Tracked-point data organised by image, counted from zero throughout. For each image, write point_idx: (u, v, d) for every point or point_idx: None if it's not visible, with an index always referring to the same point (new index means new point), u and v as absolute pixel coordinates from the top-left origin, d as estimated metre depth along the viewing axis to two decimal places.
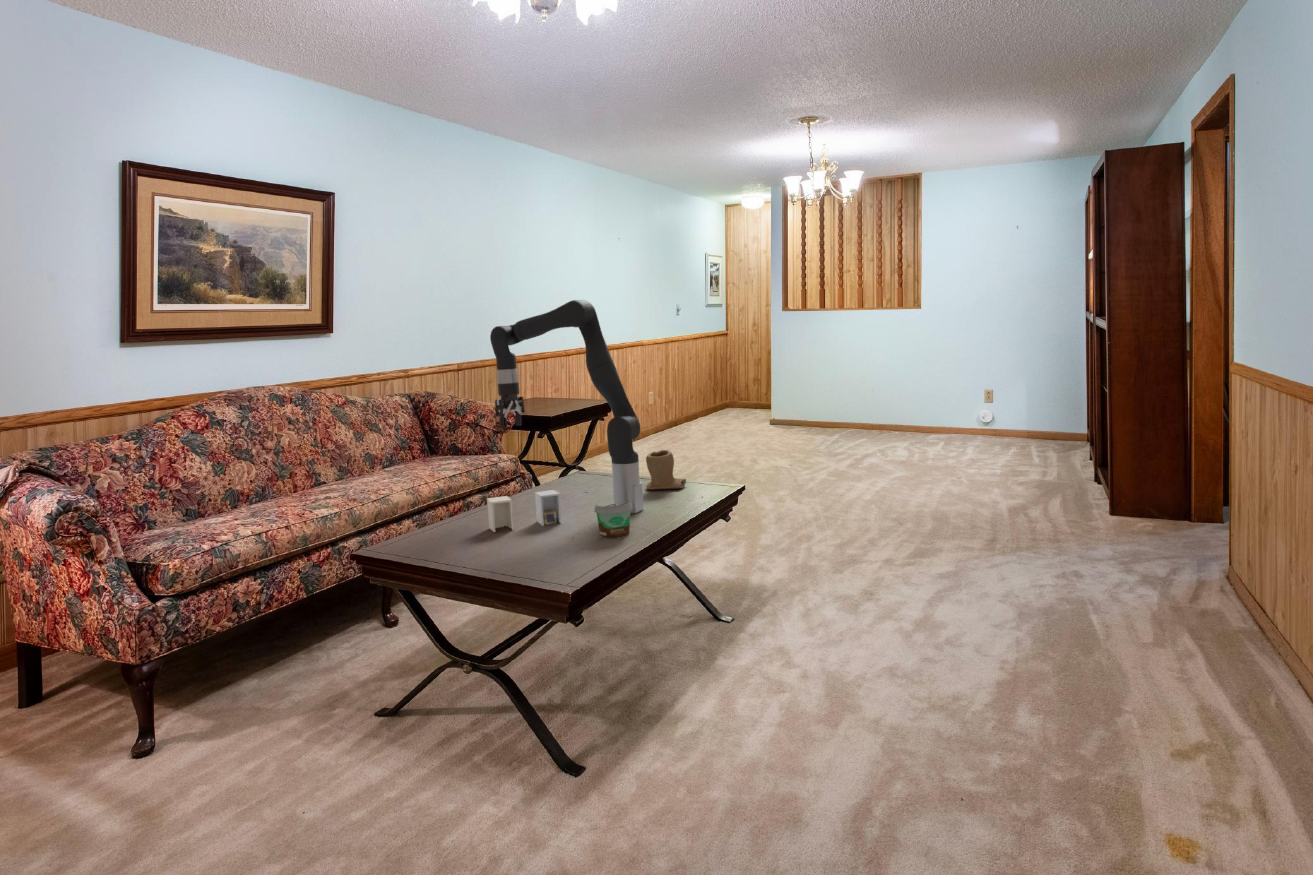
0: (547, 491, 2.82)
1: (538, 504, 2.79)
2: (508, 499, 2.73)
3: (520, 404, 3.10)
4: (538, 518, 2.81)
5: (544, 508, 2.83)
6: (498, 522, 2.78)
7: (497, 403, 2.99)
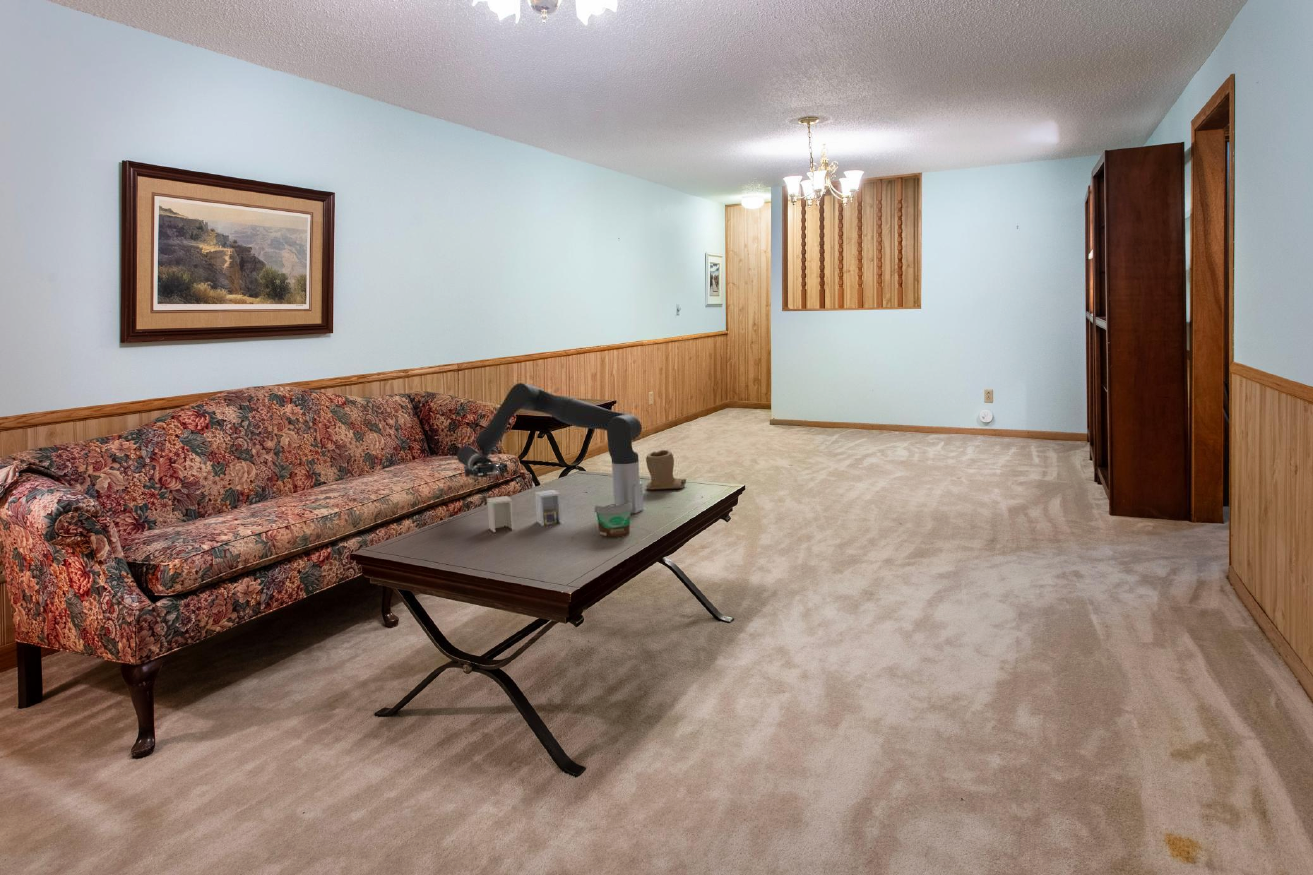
0: (547, 491, 2.82)
1: (538, 504, 2.79)
2: (508, 499, 2.73)
3: None
4: (538, 518, 2.81)
5: (544, 508, 2.83)
6: (498, 522, 2.78)
7: (464, 471, 2.89)
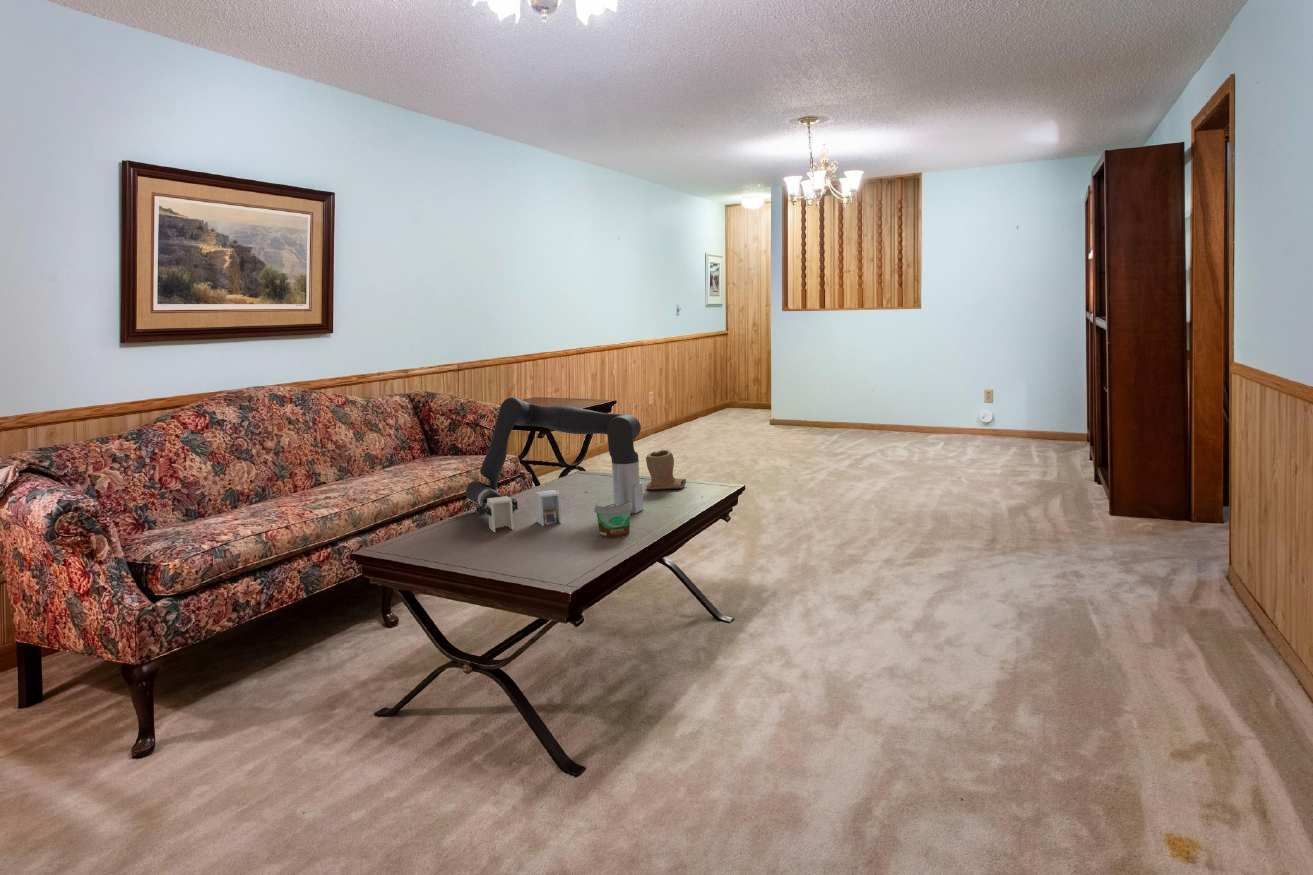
0: (547, 491, 2.82)
1: (538, 504, 2.79)
2: (508, 499, 2.73)
3: (512, 502, 2.81)
4: (538, 518, 2.81)
5: (544, 508, 2.83)
6: (498, 522, 2.78)
7: (475, 509, 2.78)
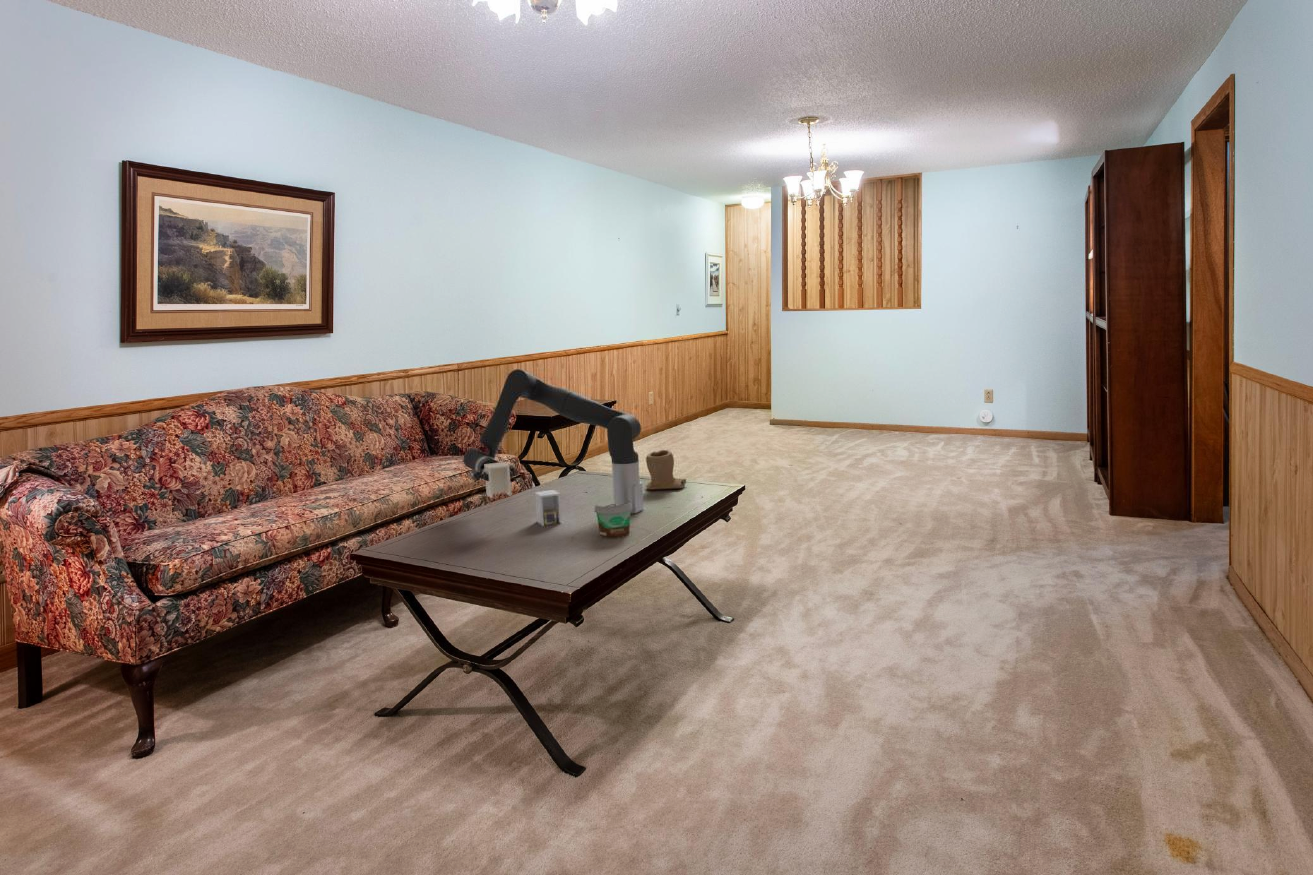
0: (547, 491, 2.82)
1: (538, 504, 2.79)
2: (505, 464, 2.71)
3: (510, 469, 2.80)
4: (538, 518, 2.81)
5: (544, 508, 2.83)
6: (495, 488, 2.76)
7: (472, 475, 2.76)
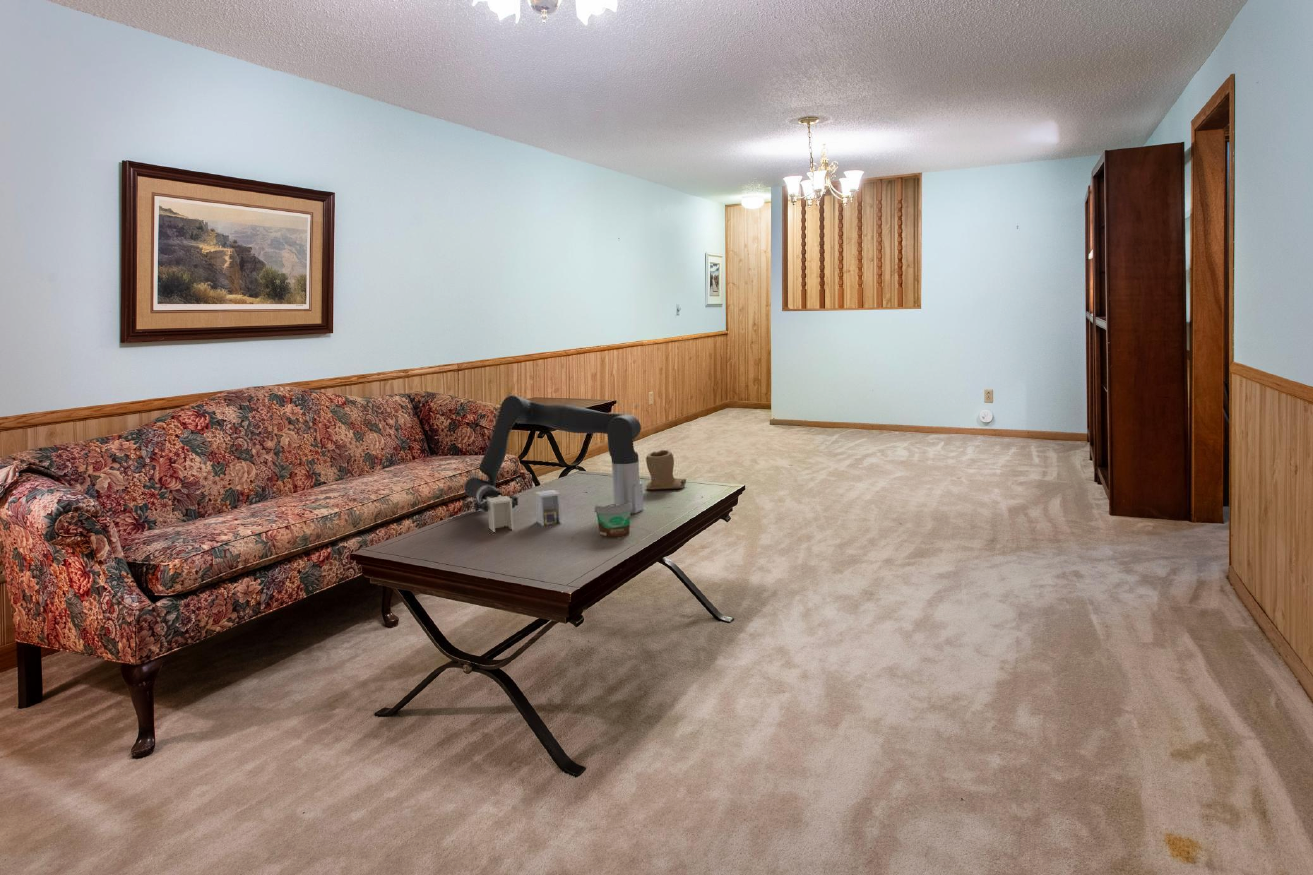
0: (547, 491, 2.82)
1: (538, 504, 2.79)
2: (508, 499, 2.73)
3: (512, 498, 2.83)
4: (538, 518, 2.81)
5: (544, 508, 2.83)
6: (498, 522, 2.78)
7: (473, 505, 2.80)
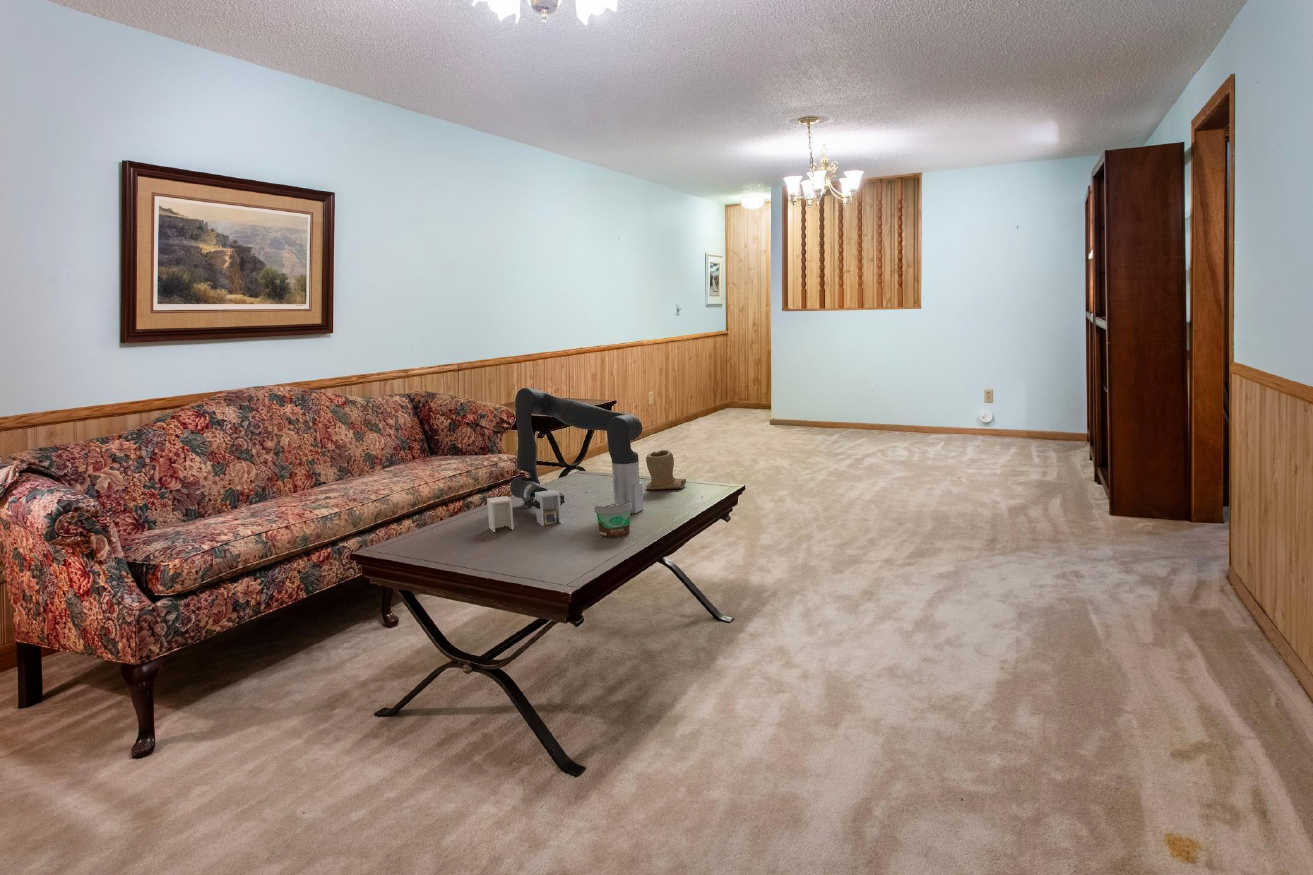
0: (547, 491, 2.82)
1: None
2: (508, 499, 2.73)
3: None
4: (538, 518, 2.81)
5: (544, 508, 2.83)
6: (498, 522, 2.78)
7: (523, 502, 2.84)
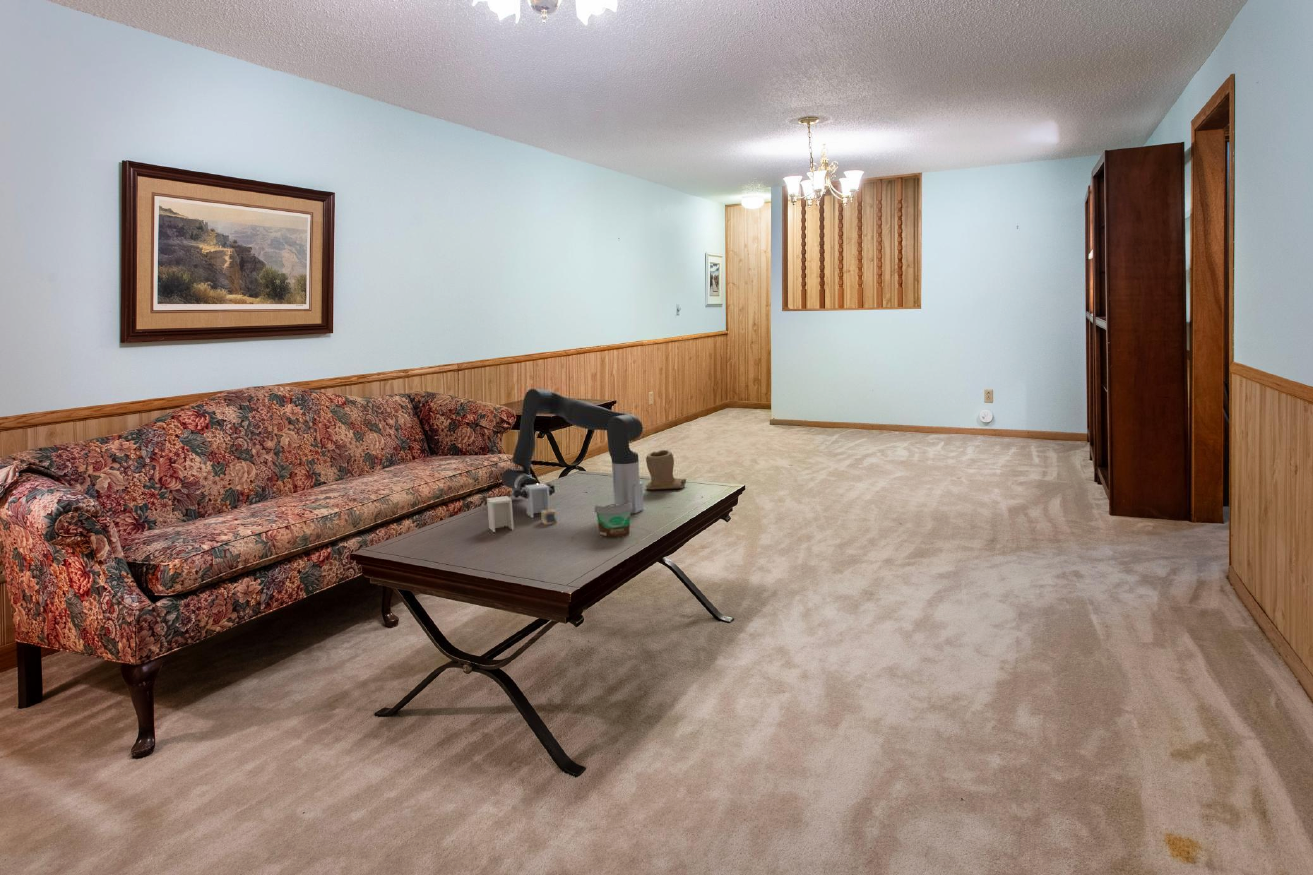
0: (537, 484, 2.94)
1: (528, 497, 2.91)
2: (508, 499, 2.73)
3: (548, 486, 3.00)
4: (528, 510, 2.93)
5: (534, 501, 2.95)
6: (498, 522, 2.78)
7: (512, 492, 2.96)
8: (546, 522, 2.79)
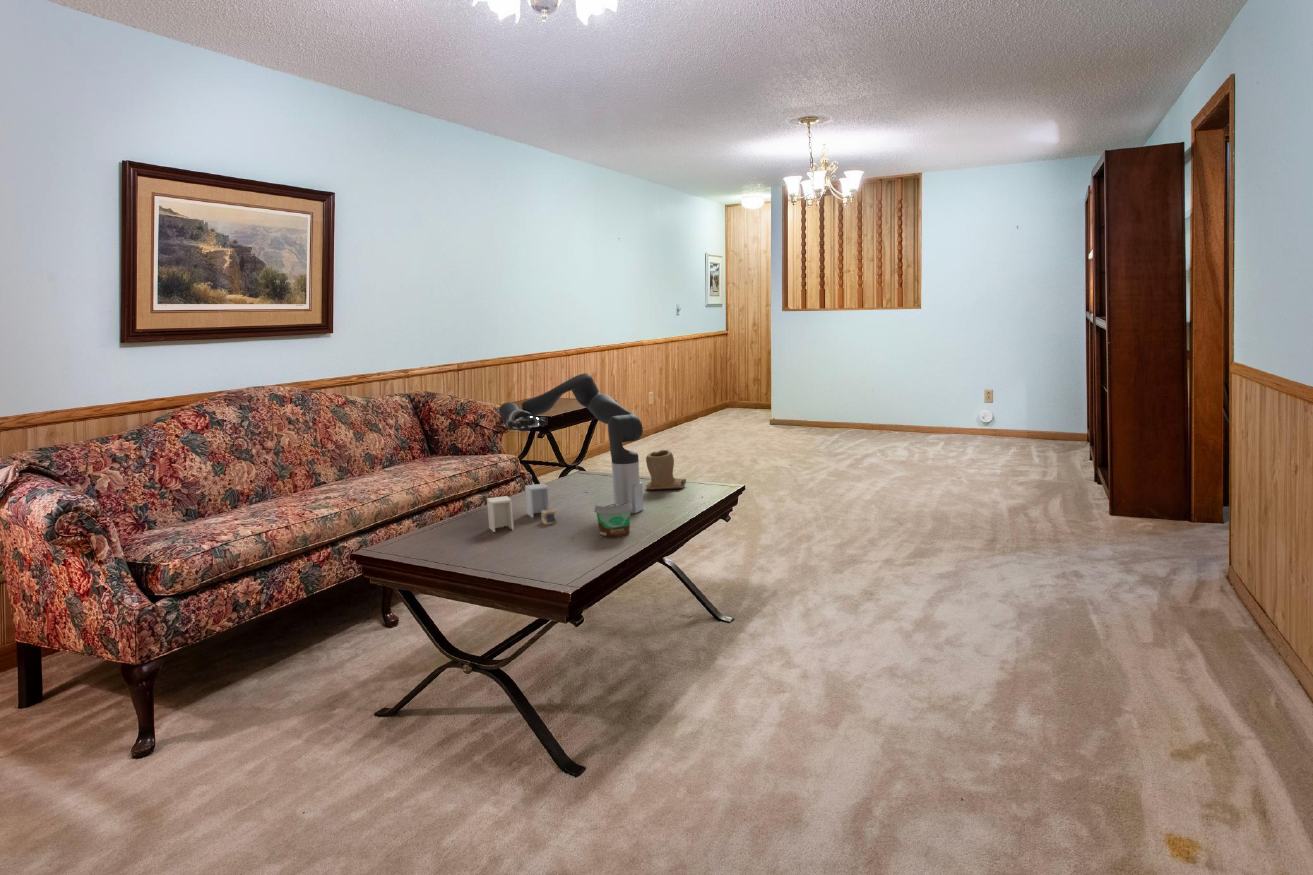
0: (537, 484, 2.94)
1: (528, 497, 2.91)
2: (508, 499, 2.73)
3: (542, 419, 3.08)
4: (528, 510, 2.93)
5: (534, 501, 2.95)
6: (498, 522, 2.78)
7: (507, 424, 3.05)
8: (546, 522, 2.79)
